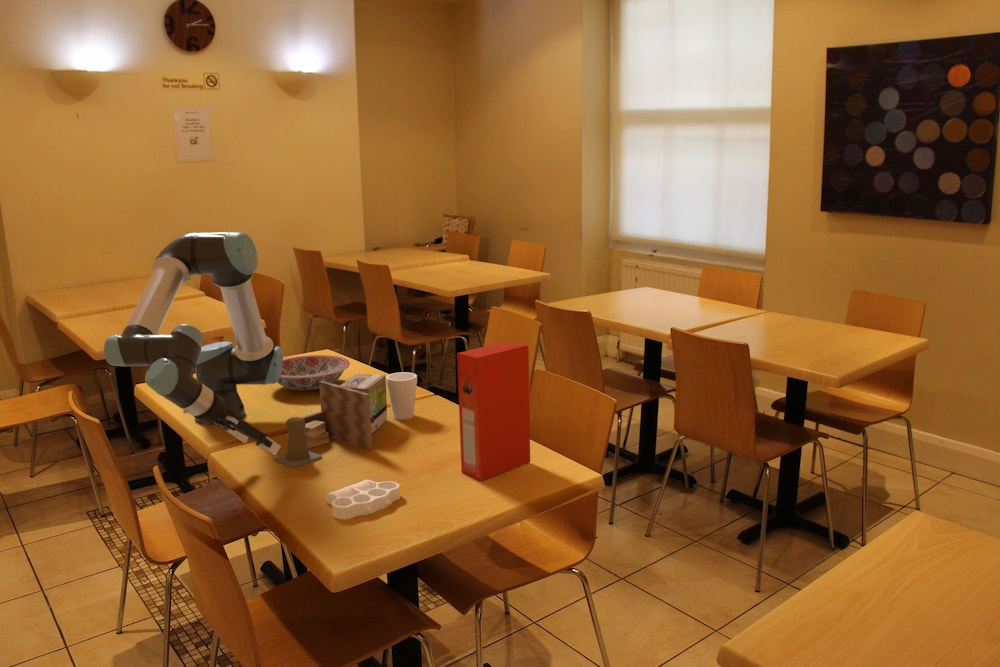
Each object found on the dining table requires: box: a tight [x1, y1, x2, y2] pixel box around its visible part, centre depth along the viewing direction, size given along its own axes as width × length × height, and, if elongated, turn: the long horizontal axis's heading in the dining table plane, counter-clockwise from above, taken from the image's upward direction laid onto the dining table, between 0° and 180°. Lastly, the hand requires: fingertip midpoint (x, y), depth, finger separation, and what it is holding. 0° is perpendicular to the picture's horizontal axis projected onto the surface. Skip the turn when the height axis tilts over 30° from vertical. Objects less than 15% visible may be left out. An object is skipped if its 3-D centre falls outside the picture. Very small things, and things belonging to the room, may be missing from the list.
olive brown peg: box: [285, 416, 309, 461], centre depth 222 cm, size 6×6×11 cm
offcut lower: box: [305, 432, 330, 449], centre depth 235 cm, size 4×7×3 cm, turn 135°
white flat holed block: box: [324, 478, 401, 520], centre depth 195 cm, size 3×18×15 cm
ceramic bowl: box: [277, 354, 351, 391], centre depth 289 cm, size 29×29×8 cm
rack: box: [300, 381, 373, 451], centre depth 231 cm, size 21×12×16 cm, turn 49°
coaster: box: [274, 450, 323, 469], centre depth 223 cm, size 9×9×1 cm
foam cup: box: [386, 371, 418, 421], centre depth 255 cm, size 10×9×13 cm
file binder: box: [456, 340, 531, 482], centre depth 211 cm, size 8×17×32 cm, turn 133°
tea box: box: [339, 373, 388, 434], centre depth 246 cm, size 15×10×15 cm
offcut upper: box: [304, 420, 326, 439], centre depth 234 cm, size 4×6×3 cm, turn 156°
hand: (262, 444), depth 214 cm, fingers open, 13 cm apart
